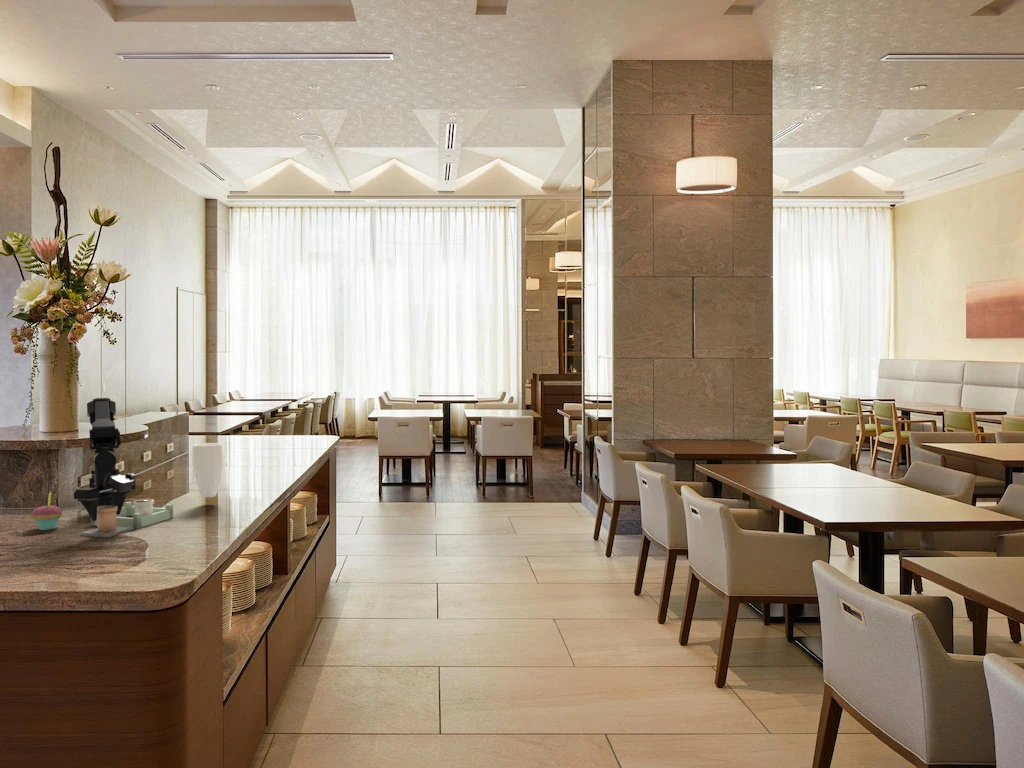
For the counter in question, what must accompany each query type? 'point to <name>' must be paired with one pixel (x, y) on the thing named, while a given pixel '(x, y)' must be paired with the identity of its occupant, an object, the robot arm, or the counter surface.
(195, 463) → the cup
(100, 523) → the terracotta pot
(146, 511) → the pot
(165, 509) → the cold frame
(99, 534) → the slate tile
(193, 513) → the counter surface
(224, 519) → the counter surface
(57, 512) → the cupcake
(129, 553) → the counter surface
